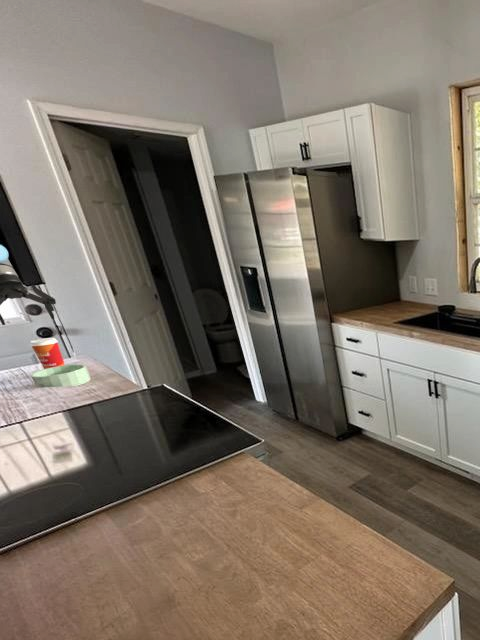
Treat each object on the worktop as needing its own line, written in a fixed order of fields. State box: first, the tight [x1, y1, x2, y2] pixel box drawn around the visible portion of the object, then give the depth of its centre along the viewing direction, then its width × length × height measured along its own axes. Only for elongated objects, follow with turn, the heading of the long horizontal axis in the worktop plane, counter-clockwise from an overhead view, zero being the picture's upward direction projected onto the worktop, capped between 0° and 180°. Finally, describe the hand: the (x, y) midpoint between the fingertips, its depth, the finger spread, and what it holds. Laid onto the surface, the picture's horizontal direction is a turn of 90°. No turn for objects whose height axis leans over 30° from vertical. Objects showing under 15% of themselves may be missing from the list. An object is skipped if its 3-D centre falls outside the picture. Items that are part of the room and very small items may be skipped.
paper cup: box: [29, 337, 66, 369], centre depth 165 cm, size 8×8×14 cm
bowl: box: [30, 363, 92, 389], centre depth 155 cm, size 14×14×6 cm
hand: (28, 319), depth 166 cm, fingers open, 13 cm apart
